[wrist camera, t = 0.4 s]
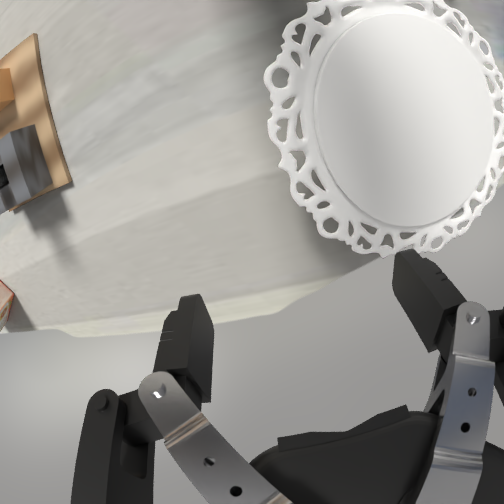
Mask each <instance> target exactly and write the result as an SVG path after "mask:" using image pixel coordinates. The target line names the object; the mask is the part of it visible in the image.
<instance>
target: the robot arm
mask: <svg viewBox="0 0 504 504" xmlns="http://www.w3.org/2000/svg"><path fill="white" fill-rule="evenodd" d="M392 286H393V291H394V294H395V296H396V297H397V299H398V301H399V302H400V304H401V306H402V307H403V309H404V311H405V312H406V314H407V316H408V317H409V319H410V321H411V322H412V324H413V326H414V328H415V329H416V331H417V333H418V335H419V336H420V338H421V340H422V342H423V343H424V345H425V347H426V349H427V350H428V352H432V351H434V350H436V349H438V350H439V351H440V355H439V358H438V363H437V367H436V372H435V376H434V381H433V385H432V389H431V393H430V396H429V399H428V401H427V404H426V406H425V409H424V411H423V412H420V411H408V408H407V406H406V405H403V406H400V407H398V408H395V409H392V410H389V411H386V412H383V413H380V414H377V415H376V416H374V417H372V418H370V419H369V420H367V421H365V422H363V423H362V424H360V425H358V426H356V427H354V428H352V429H351V430H349V431H345V432H308V433H303V434H297V435H291V436H285V437H279V438H278V445H277V446H274V447H272V448H270V449H268V450H266V451H265V452H263V453H261V454H260V455H258V456H257V457H256V458H255V459H253V460H252V461H251V462H250V463H248V462H247V461H246V460H245V459H244V458H243V457H242V456H241V455H240V454H239V453H238V452H237V451H236V450H235V449H234V448H233V447H232V446H231V445H230V444H229V443H228V442H227V441H226V440H225V438H224V437H223V436H222V435H221V434H220V433H219V432H218V431H217V430H216V429H215V428H214V426H213V425H212V424H211V423H210V422H209V421H208V420H207V418H206V417H205V416H204V415H203V414H202V413H201V403H208V402H211V385H212V364H213V345H214V328H213V323H212V320H211V318H210V316H209V313H208V311H207V309H206V306H205V304H204V301H203V299H202V297H201V295H200V294H195V295H189V296H183V297H181V298H180V301H179V306H178V310H176V311H171V312H170V314H169V315H168V317H167V318H166V320H165V321H164V325H163V329H162V334H161V337H160V342H159V346H158V351H157V355H156V360H155V365H154V369H153V373H152V374H150V375H148V376H147V377H145V378H144V379H143V381H142V382H141V384H140V386H139V389H137V390H135V391H132V392H129V393H126V394H122V395H119V396H118V395H117V394H116V393H115V392H114V391H112V390H110V389H103V390H100V391H98V392H96V393H95V394H94V395H93V396H92V397H91V399H90V400H89V402H88V405H87V409H86V414H85V418H84V423H83V427H82V432H81V437H80V442H79V448H78V453H77V459H76V466H75V472H74V479H73V487H72V496H71V504H153V479H154V455H155V441H156V440H160V439H163V438H164V439H165V442H164V444H165V446H166V448H167V450H168V451H169V453H170V454H171V455H172V457H173V458H174V460H175V461H176V462H177V464H178V465H179V467H180V468H181V469H182V471H183V472H184V473H185V475H186V476H187V477H188V479H189V480H190V481H191V482H192V484H193V485H194V486H195V487H196V489H197V490H198V491H199V492H200V494H201V495H202V496H203V497H204V498H205V499H206V501H207V502H208V503H209V504H504V450H503V449H501V448H499V447H497V446H495V445H493V444H491V443H489V442H487V441H485V440H486V435H487V430H488V424H489V419H490V413H491V404H492V398H493V389H494V386H495V388H496V390H497V392H498V394H499V397H500V399H501V401H502V403H503V406H504V307H503V309H502V310H493V311H487V310H486V308H485V307H484V306H482V305H481V304H479V303H477V302H471V301H470V302H467V301H466V299H465V298H464V297H463V295H462V294H461V293H460V292H459V291H458V289H457V288H456V287H455V286H454V285H453V283H452V282H451V281H450V280H449V279H448V278H447V276H446V275H445V274H444V273H442V270H441V269H440V268H439V267H438V266H437V265H436V264H435V263H434V262H432V261H430V260H429V259H427V258H422V257H421V256H420V255H419V254H418V253H417V252H416V250H414V249H408V250H405V251H401V252H397V253H396V254H395V260H394V272H393V280H392Z"/></svg>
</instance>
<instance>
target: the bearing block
mask: <svg viewBox="0 0 504 504" xmlns="http://www.w3.org/2000/svg"><path fill="white" fill-rule="evenodd" d="M3 68H10V74H11V81H12V87H13V92H14V98H15V99H14V100H13V101H12V102H11V103H9V104H8V105H7V106H6V107H4V108H3V109H2V110H1V111H0V169H1V168H2V169H4V170H5V172H6V175H7V182H6V183H5V184H4V185H2V186H0V214H2V213H4V212H5V211H7V210H9V212H10V211H12V210H14V209H16V208H17V207H19V206H21V205H23V204H25V203H27V202H29V201H31V200H33V199H35V198H37V197H39V196H41V195H43V194H45V193H47V192H49V191H52V190H54V189H56V188H58V187H60V186H63V185H65V184H67V183H69V182H71V181H72V179H71V176H70V173H69V170H68V167H67V165H66V162H65V159H64V155H63V152H62V149H61V146H60V143H59V139H58V136H57V132H56V129H55V125H54V122H53V118H52V114H51V110H50V106H49V101H48V97H47V93H46V88H45V83H44V78H43V72H42V67H41V60H40V54H39V47H38V38H37V34H35V33H33V34H32V35H30V36H29V37H28V38H26V39H25V40H24V41H23V42H21V43H20V44H19V45H18V46H16V47H15V48H14V49H13V50H11V51H10V52H9V53H8V54H7V55H6V56H4V57H3V58H2V59H1V60H0V69H3Z"/></svg>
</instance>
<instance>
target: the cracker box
mask: <svg viewBox="0 0 504 504" xmlns="http://www.w3.org/2000/svg"><path fill="white" fill-rule="evenodd" d="M13 296H14V293H13V292H12V291H11V290H10V289H9V288H8V287H6V286H5V285H4V284H3V283H2V282H1V281H0V331H1V330H2V328H3V327H4V325H5V324H6V322H7V321H8V316H9V312H10V308H11V304H12V300H13Z"/></svg>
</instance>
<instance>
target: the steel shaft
mask: <svg viewBox="0 0 504 504" xmlns="http://www.w3.org/2000/svg"><path fill="white" fill-rule="evenodd" d="M6 182H7V175H6V172H5V170H4V169H2V168H1V169H0V186H2V185H4V184H5V183H6Z"/></svg>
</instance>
